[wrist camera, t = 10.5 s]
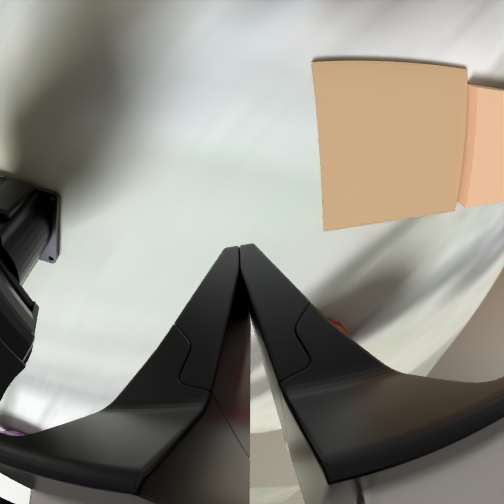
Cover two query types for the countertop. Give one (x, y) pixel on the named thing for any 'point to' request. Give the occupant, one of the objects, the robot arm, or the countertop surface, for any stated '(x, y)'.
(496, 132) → the tile
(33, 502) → the robot arm
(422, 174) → the mat
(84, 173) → the countertop surface
